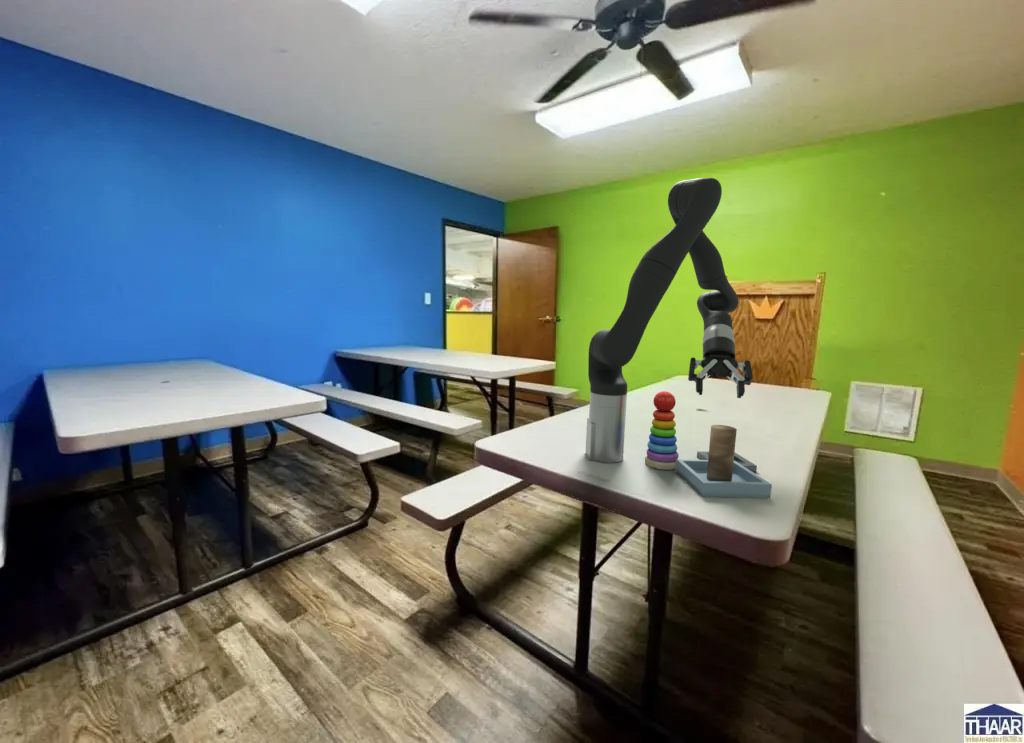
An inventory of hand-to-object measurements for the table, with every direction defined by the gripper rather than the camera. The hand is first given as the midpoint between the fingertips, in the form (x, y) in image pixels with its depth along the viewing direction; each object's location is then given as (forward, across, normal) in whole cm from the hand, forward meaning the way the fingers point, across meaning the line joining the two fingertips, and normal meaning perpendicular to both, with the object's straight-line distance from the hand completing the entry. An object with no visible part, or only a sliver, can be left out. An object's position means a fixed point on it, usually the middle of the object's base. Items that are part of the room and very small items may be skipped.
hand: (720, 394), depth 99 cm
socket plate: (+10, +3, +16) cm, 19 cm away
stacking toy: (+16, -12, +10) cm, 23 cm away
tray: (+21, 0, +5) cm, 21 cm away
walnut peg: (+20, 0, +4) cm, 21 cm away
